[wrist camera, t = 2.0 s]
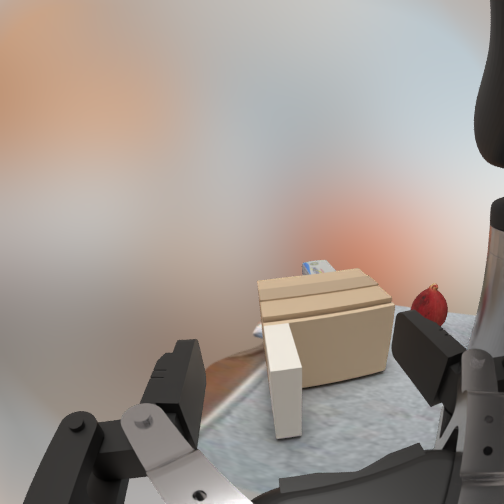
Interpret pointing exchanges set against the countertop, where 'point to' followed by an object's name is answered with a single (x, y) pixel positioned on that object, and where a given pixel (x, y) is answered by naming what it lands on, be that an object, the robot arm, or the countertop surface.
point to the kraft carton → (317, 295)
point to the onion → (431, 305)
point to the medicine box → (316, 267)
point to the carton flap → (322, 356)
